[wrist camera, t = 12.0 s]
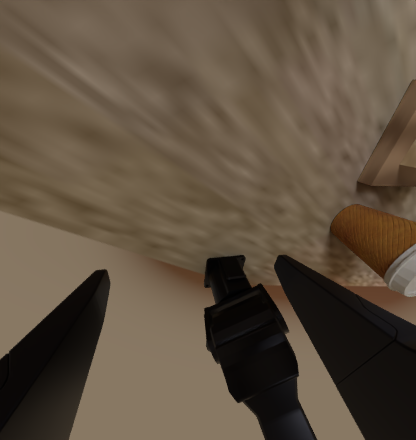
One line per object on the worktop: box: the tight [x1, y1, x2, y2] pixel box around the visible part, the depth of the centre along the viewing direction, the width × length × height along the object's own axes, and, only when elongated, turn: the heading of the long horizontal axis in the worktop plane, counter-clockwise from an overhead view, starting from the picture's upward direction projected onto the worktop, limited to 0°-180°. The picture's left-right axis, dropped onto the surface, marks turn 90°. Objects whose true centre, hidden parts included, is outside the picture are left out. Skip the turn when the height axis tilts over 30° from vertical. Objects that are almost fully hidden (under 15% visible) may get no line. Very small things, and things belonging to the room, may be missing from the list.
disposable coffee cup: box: [331, 204, 416, 297], centre depth 25 cm, size 10×10×12 cm
